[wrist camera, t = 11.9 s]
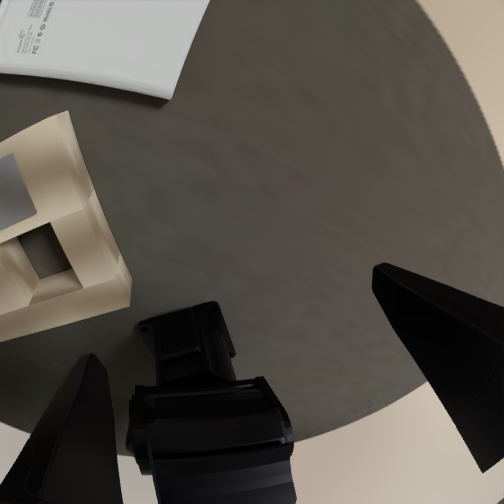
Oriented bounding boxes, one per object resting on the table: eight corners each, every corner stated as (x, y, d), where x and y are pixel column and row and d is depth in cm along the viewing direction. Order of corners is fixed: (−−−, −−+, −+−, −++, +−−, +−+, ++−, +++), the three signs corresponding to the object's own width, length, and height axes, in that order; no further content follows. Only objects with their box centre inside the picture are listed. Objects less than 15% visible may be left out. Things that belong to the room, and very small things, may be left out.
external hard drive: (170, 99, 16) (-10, 72, 12) (219, -21, 13) (34, -45, 8) (170, 100, 15) (-23, 72, 10) (224, -29, 12) (25, -53, 7)
